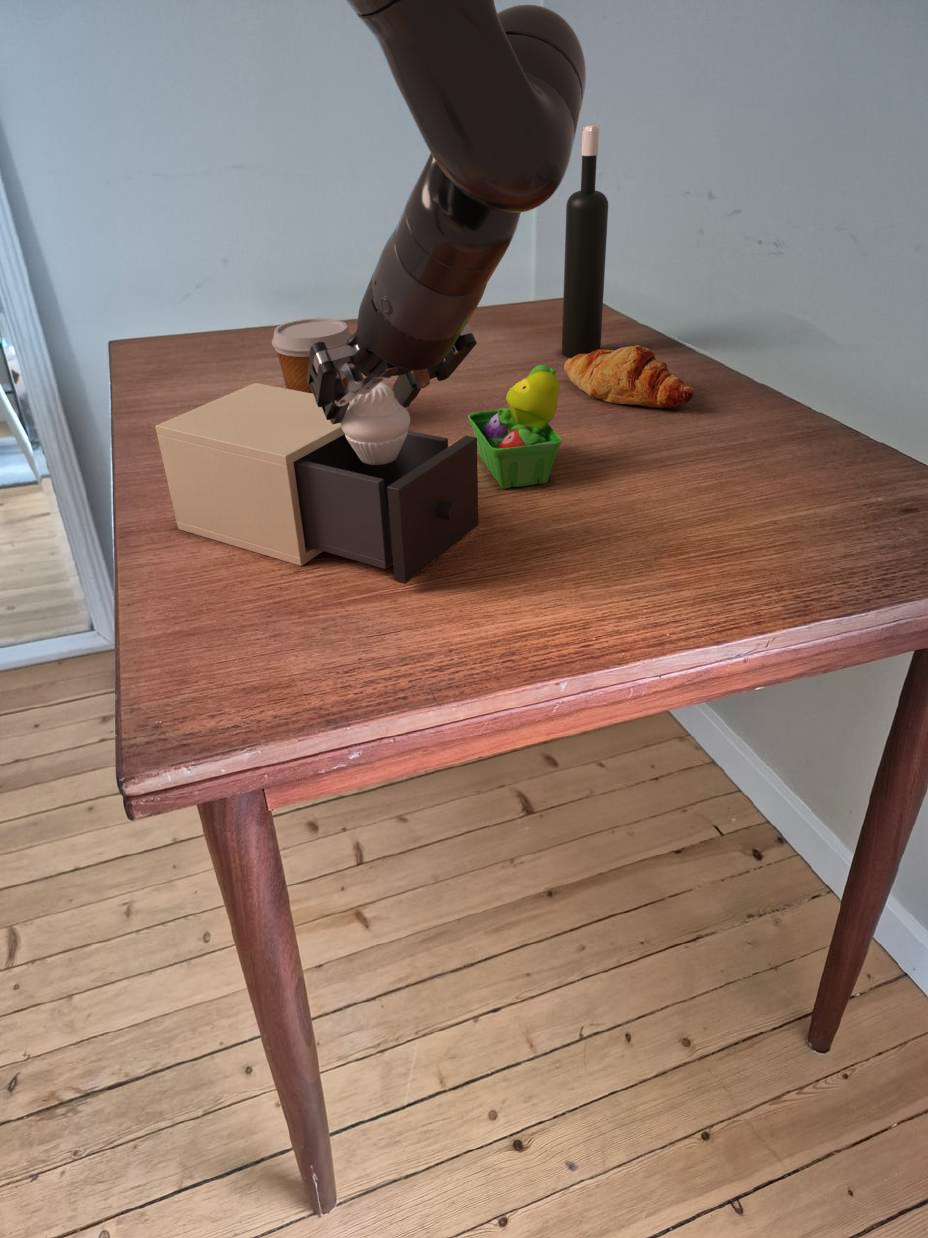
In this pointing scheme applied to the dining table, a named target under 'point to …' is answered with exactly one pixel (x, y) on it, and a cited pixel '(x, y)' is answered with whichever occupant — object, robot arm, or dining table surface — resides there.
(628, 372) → the croissant
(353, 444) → the muffin
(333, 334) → the disposable coffee cup
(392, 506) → the pulled-out nightstand drawer
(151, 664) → the dining table surface
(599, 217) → the wine bottle
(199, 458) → the cabinet
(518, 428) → the fruit basket
